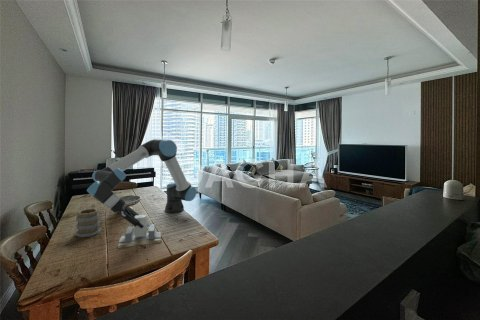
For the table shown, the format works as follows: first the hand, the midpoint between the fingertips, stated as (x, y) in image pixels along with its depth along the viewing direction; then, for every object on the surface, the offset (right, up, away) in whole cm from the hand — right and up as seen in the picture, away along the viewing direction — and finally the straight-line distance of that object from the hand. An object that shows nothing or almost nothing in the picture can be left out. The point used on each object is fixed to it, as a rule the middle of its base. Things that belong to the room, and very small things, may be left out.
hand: (147, 228), depth 130 cm
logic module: (-4, -3, -1) cm, 5 cm away
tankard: (-41, -5, +12) cm, 44 cm away
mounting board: (-4, -7, -1) cm, 8 cm away
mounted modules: (-4, -5, -1) cm, 6 cm away
